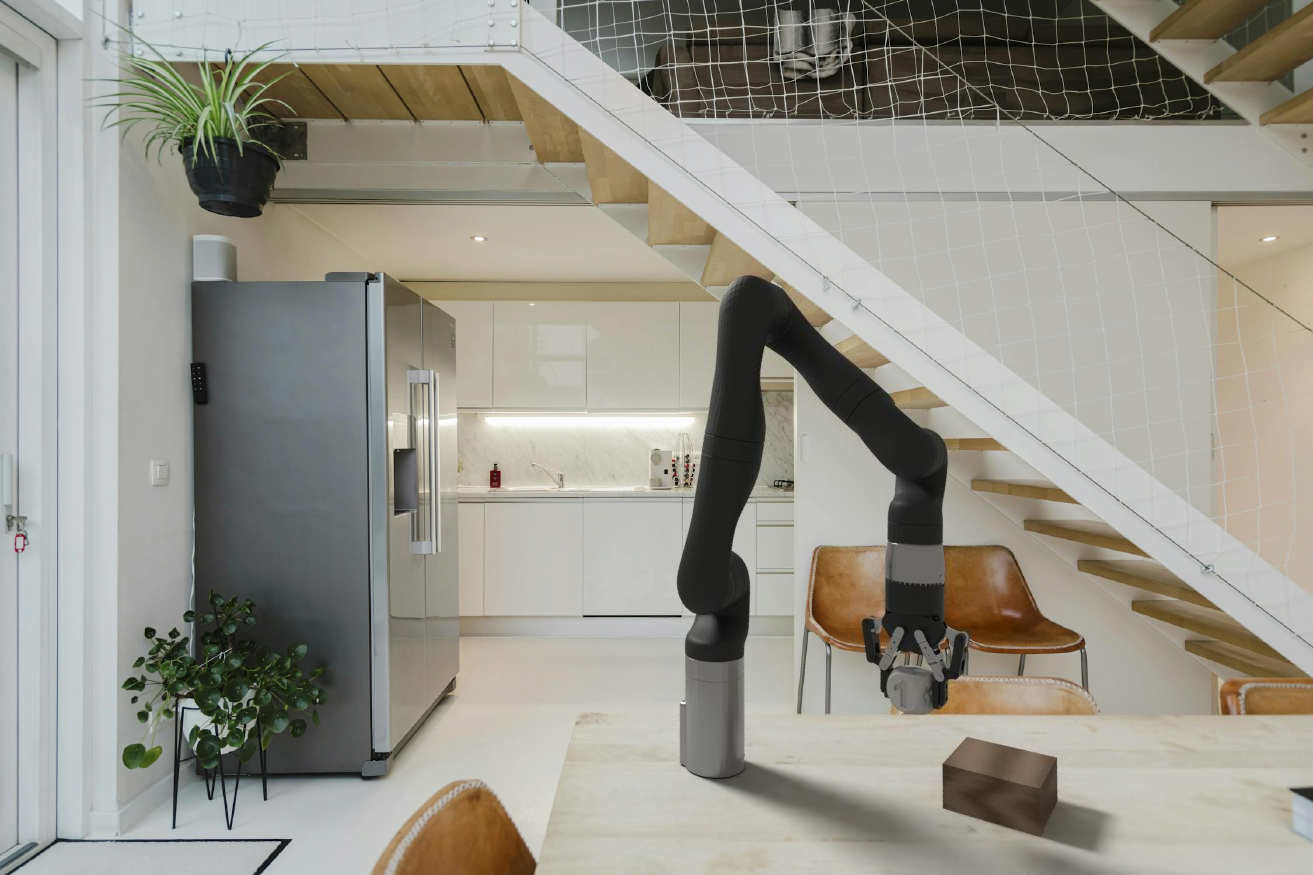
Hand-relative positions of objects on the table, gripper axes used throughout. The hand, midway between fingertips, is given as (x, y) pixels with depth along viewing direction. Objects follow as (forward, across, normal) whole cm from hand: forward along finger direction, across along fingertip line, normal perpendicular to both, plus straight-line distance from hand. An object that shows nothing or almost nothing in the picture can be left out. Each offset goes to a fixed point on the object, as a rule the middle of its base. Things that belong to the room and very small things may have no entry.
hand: (913, 701), depth 97 cm
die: (+1, 0, 0) cm, 1 cm away
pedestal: (+15, +8, +11) cm, 21 cm away
